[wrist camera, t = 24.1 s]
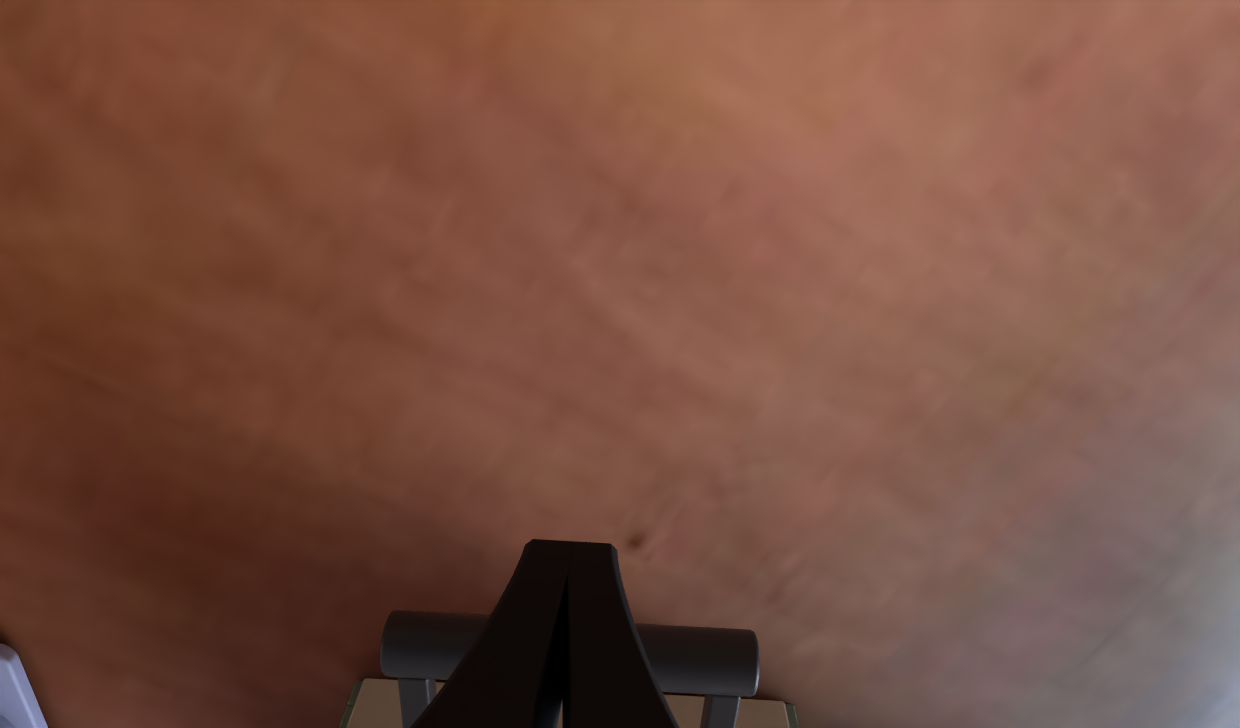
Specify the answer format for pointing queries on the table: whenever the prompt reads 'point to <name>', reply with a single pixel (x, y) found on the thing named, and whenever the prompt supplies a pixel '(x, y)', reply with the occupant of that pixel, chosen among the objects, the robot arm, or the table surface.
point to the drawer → (676, 657)
